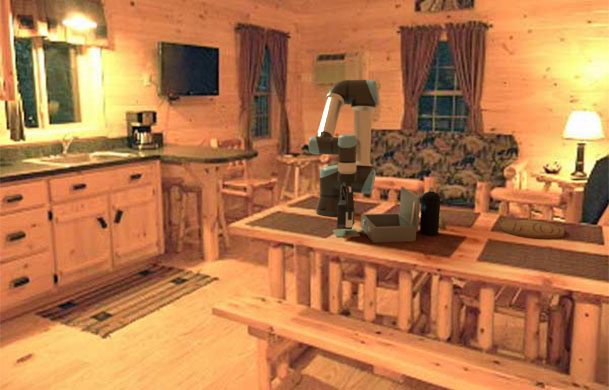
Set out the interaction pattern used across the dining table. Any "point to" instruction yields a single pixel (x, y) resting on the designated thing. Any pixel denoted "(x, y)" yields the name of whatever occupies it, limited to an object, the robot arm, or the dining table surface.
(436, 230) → the aerosol can
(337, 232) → the mat
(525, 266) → the dining table surface
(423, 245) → the dining table surface
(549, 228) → the trivet
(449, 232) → the dining table surface
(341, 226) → the small box
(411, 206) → the case
